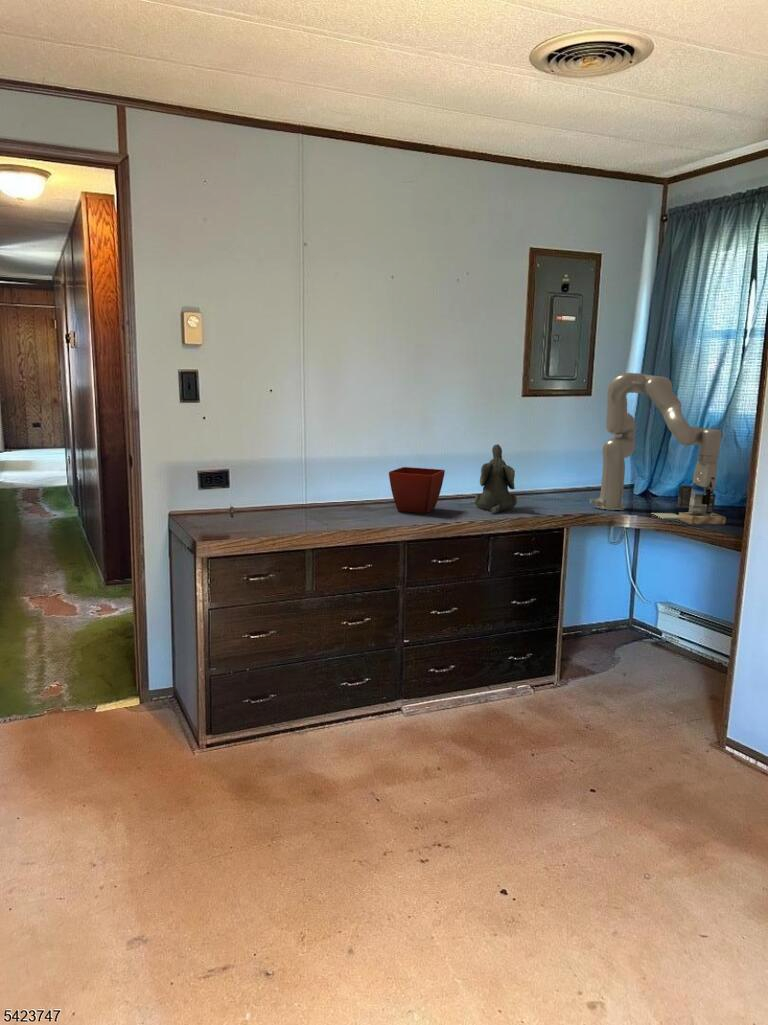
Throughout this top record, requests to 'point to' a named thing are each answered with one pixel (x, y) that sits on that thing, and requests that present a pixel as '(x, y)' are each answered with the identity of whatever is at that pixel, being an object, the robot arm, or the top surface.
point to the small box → (684, 496)
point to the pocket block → (701, 518)
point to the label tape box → (700, 501)
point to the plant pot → (416, 488)
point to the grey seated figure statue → (496, 484)
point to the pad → (666, 515)
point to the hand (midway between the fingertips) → (702, 502)
